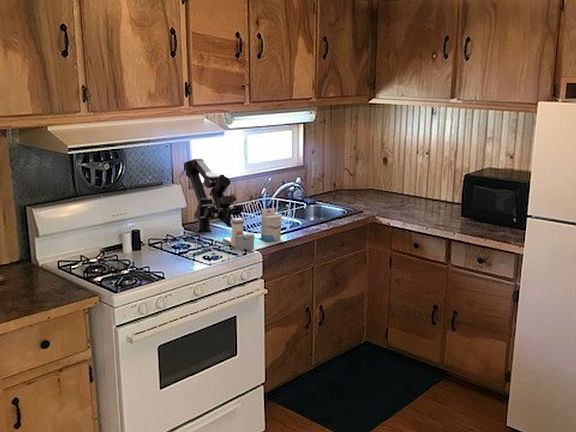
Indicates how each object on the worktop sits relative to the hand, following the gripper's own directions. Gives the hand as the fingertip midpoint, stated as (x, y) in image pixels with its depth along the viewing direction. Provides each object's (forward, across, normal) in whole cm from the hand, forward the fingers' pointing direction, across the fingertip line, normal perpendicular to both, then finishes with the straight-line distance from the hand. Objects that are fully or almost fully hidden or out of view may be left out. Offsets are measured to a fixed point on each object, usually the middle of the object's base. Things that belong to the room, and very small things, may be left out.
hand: (229, 226), depth 289 cm
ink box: (+9, +20, +2) cm, 22 cm away
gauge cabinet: (+15, 0, -5) cm, 16 cm away
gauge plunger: (+11, 0, -7) cm, 13 cm away
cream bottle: (+11, 0, -1) cm, 11 cm away
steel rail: (+9, 0, +2) cm, 9 cm away
